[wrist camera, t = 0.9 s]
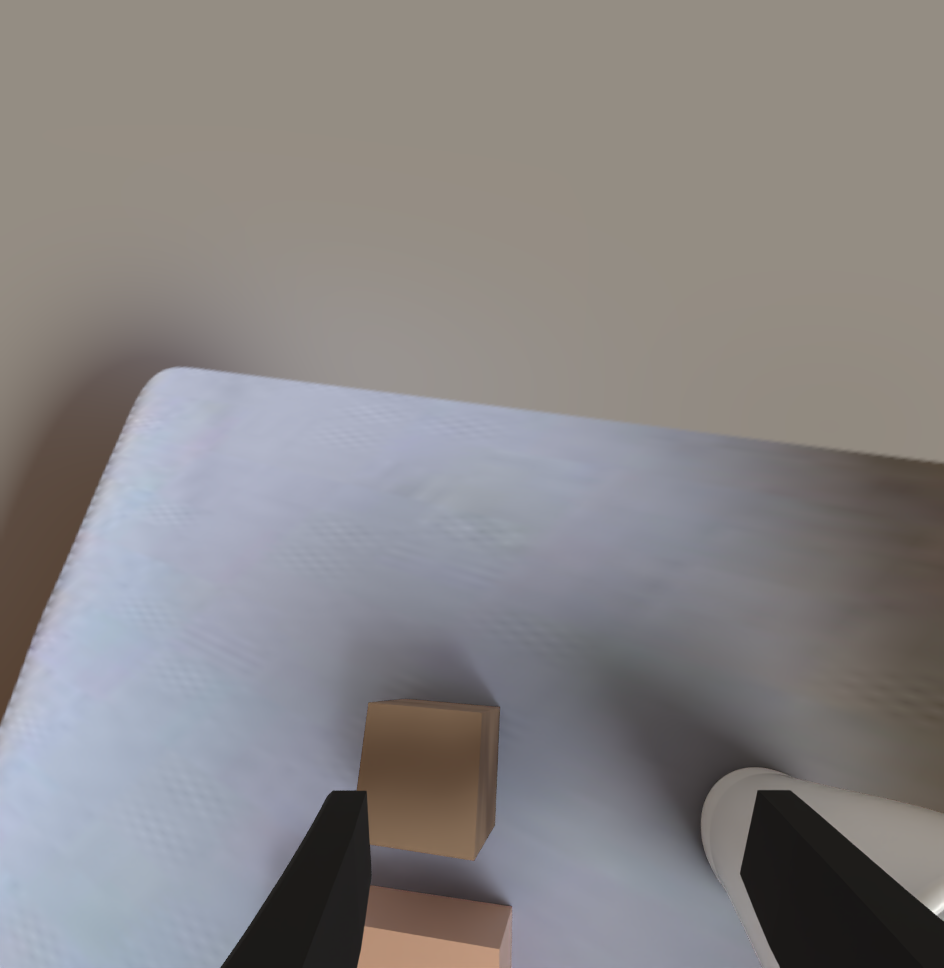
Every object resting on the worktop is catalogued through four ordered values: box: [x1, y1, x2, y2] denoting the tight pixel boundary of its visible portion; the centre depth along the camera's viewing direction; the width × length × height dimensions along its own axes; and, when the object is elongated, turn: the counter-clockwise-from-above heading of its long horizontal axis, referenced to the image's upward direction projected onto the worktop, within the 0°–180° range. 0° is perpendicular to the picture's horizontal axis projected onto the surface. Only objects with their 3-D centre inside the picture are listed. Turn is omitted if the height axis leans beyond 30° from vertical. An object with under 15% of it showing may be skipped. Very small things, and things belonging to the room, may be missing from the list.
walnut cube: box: [357, 699, 500, 861], centre depth 22 cm, size 5×5×5 cm
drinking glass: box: [701, 767, 944, 968], centre depth 13 cm, size 7×7×15 cm
